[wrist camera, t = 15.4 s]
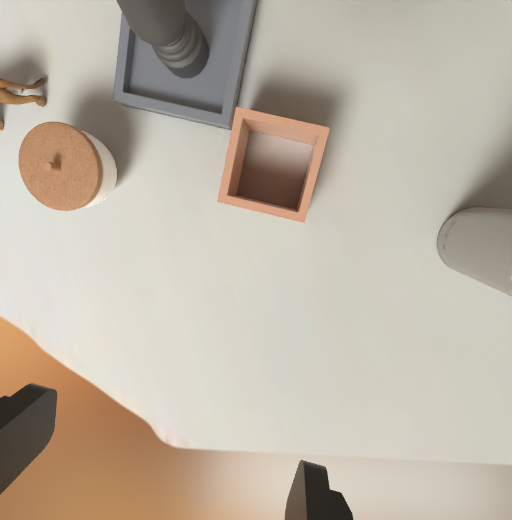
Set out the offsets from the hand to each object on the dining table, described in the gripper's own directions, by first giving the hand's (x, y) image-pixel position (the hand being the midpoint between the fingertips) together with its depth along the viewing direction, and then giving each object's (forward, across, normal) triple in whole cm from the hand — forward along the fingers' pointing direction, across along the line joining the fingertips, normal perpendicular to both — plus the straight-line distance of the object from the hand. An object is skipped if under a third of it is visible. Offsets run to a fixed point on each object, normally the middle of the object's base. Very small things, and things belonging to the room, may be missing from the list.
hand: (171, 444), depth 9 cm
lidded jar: (+36, +27, -5) cm, 46 cm away
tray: (+36, +16, -23) cm, 46 cm away
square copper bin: (+36, +1, -11) cm, 38 cm away
